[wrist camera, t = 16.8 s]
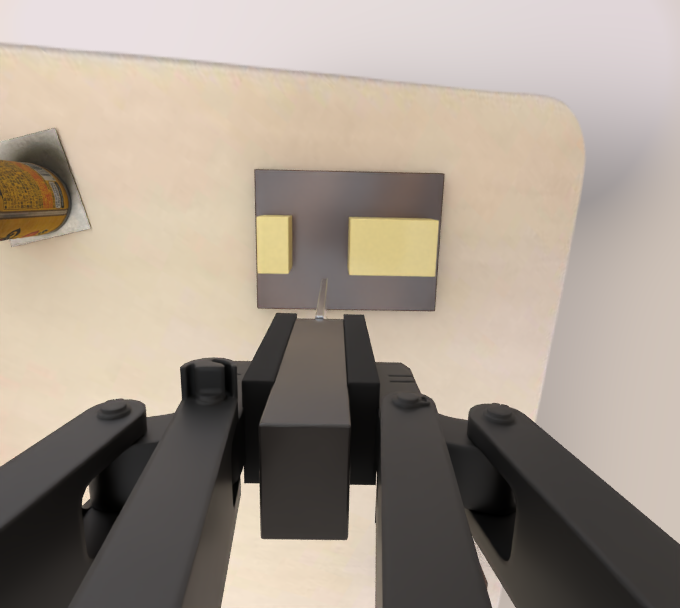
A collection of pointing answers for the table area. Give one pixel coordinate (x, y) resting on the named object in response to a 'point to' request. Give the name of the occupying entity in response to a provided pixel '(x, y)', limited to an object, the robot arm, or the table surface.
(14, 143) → the condiment
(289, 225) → the butter slice
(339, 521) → the butter knife
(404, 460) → the robot arm
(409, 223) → the butter block
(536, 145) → the table surface
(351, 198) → the butter board
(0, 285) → the table surface
